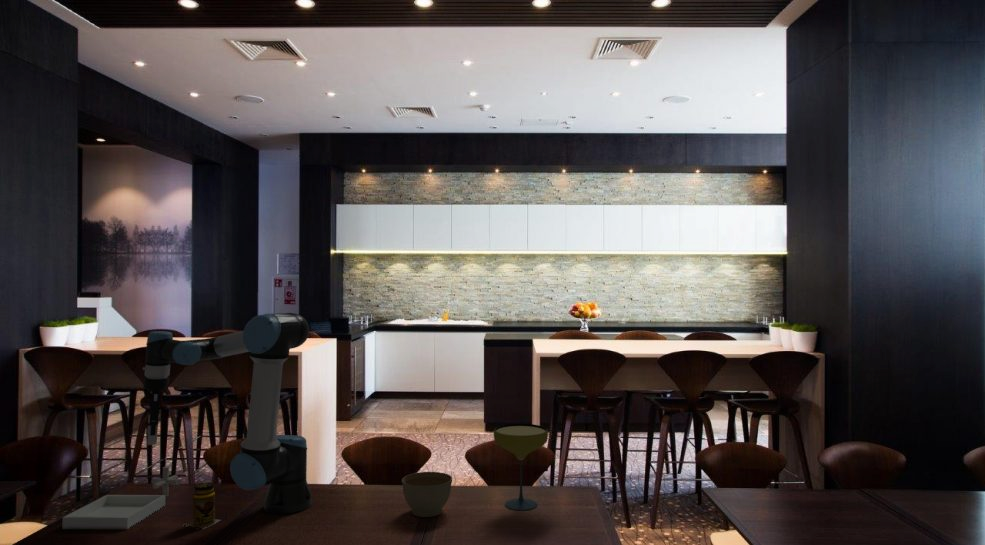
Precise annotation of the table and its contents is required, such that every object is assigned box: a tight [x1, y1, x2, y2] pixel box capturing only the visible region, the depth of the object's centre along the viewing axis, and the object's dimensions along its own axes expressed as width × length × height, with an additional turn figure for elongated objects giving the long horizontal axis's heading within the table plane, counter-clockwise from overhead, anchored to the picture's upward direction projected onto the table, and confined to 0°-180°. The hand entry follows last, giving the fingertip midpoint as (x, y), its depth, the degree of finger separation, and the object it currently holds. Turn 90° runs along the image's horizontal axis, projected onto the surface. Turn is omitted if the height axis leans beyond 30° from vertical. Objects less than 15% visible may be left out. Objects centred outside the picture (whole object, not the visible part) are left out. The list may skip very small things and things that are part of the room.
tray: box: [61, 494, 166, 530], centre depth 192 cm, size 20×20×4 cm
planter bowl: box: [401, 471, 453, 518], centre depth 195 cm, size 16×16×11 cm
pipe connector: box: [150, 466, 181, 498], centre depth 211 cm, size 10×10×10 cm
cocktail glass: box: [493, 423, 549, 512], centre depth 201 cm, size 18×18×25 cm
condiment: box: [182, 482, 222, 530], centre depth 186 cm, size 7×8×12 cm
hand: (151, 438), depth 206 cm, fingers open, 13 cm apart
